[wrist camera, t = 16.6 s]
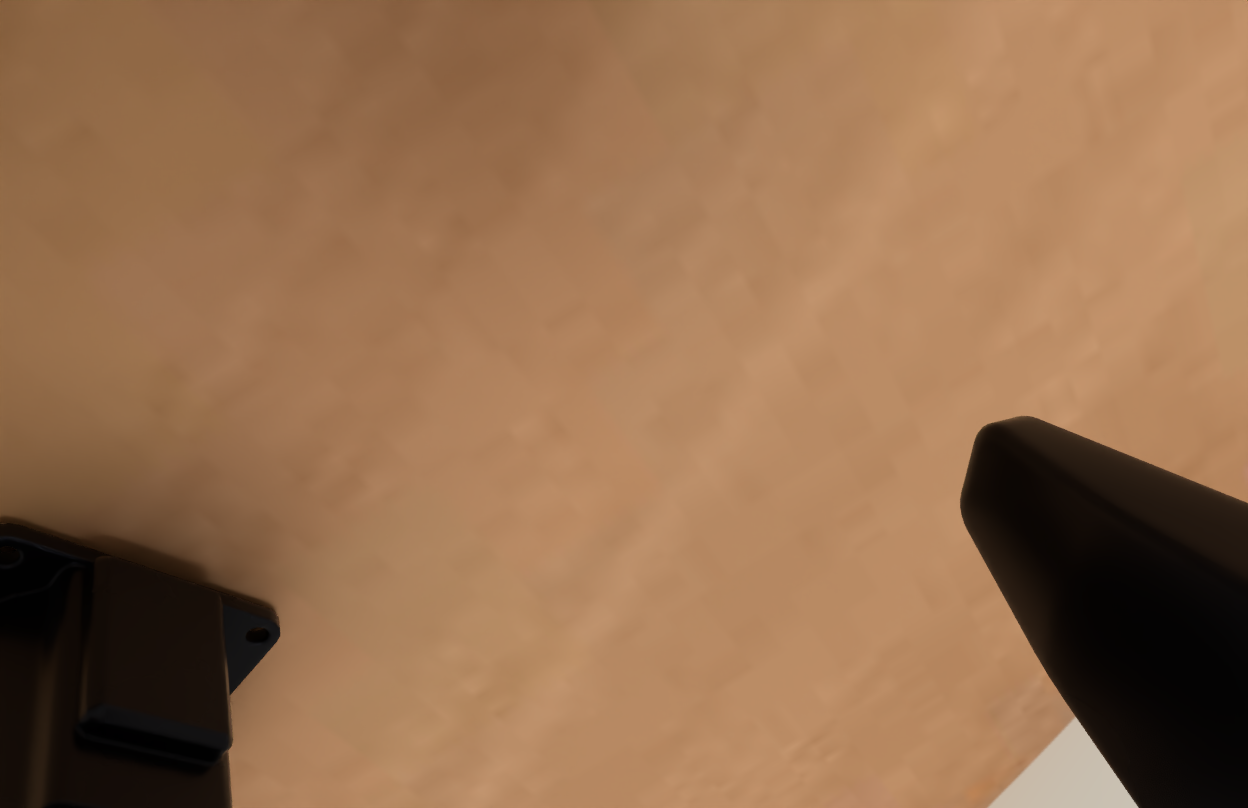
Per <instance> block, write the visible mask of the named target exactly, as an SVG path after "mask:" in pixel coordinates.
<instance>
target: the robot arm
mask: <svg viewBox="0 0 1248 808" xmlns="http://www.w3.org/2000/svg"><path fill="white" fill-rule="evenodd" d="M960 508H961V514H962V518H963V521H964V524H965V526H966V528H967V530H968V532H969V534H970V536H971V537H972V539H973V541H974V543H975V545H976V547H977V548H978V550H979V552H980V554H981V556H982V557H983V559H984V561H985V563H986V565H987V567H988V568H989V570H990V572H991V574H992V576H993V577H994V579H995V581H996V583H997V585H998V587H999V588H1000V590H1001V592H1002V594H1003V596H1004V597H1005V599H1006V601H1007V603H1008V605H1009V607H1010V608H1011V610H1012V612H1013V614H1014V616H1015V618H1016V619H1017V621H1018V623H1019V625H1020V627H1021V628H1022V630H1023V632H1024V634H1025V636H1026V638H1027V639H1028V641H1029V643H1030V645H1031V647H1032V648H1033V650H1034V652H1035V654H1036V655H1037V657H1038V659H1039V660H1040V662H1041V664H1042V666H1043V667H1044V669H1045V671H1046V672H1047V674H1048V676H1049V677H1050V679H1051V680H1052V682H1053V683H1054V685H1055V686H1056V688H1057V689H1058V691H1059V693H1060V694H1061V696H1062V697H1063V699H1064V700H1065V702H1066V703H1067V705H1068V706H1069V707H1070V709H1071V710H1072V712H1073V713H1074V715H1075V716H1076V718H1077V719H1078V720H1079V722H1080V723H1081V725H1082V726H1083V728H1084V729H1085V731H1086V732H1087V734H1088V735H1089V736H1090V738H1091V739H1092V741H1093V742H1094V743H1095V745H1096V746H1097V748H1098V749H1099V751H1100V752H1101V754H1102V755H1103V757H1104V758H1105V760H1106V761H1107V762H1108V764H1109V765H1110V767H1111V768H1112V770H1113V771H1114V773H1115V774H1116V775H1117V777H1118V778H1119V780H1120V781H1121V783H1122V784H1123V785H1124V787H1125V789H1126V790H1127V791H1128V793H1129V794H1130V796H1131V797H1132V799H1133V800H1134V802H1135V803H1136V804H1137V806H1138V807H1139V808H1248V503H1246V502H1244V501H1241V500H1239V499H1236V498H1234V497H1231V496H1229V495H1226V494H1224V493H1221V492H1219V491H1216V490H1214V489H1211V488H1209V487H1206V486H1204V485H1201V484H1199V483H1196V482H1194V481H1191V480H1189V479H1186V478H1184V477H1181V476H1179V475H1176V474H1174V473H1171V472H1169V471H1167V470H1164V469H1162V468H1159V467H1157V466H1154V465H1152V464H1149V463H1147V462H1144V461H1142V460H1139V459H1137V458H1134V457H1132V456H1129V455H1127V454H1124V453H1122V452H1119V451H1117V450H1114V449H1112V448H1109V447H1107V446H1104V445H1102V444H1099V443H1097V442H1094V441H1092V440H1090V439H1087V438H1085V437H1082V436H1080V435H1077V434H1075V433H1072V432H1070V431H1067V430H1065V429H1062V428H1060V427H1057V426H1055V425H1052V424H1050V423H1047V422H1045V421H1042V420H1040V419H1037V418H1034V417H1030V416H1019V417H1015V418H1011V419H1007V420H1002V421H998V422H994V423H990V424H987V425H986V426H984V427H983V428H982V429H981V430H980V431H979V432H978V434H977V436H976V438H975V441H974V445H973V449H972V453H971V457H970V461H969V465H968V469H967V473H966V477H965V481H964V484H963V488H962V492H961V498H960ZM4 546H6V547H13V548H14V549H16V551H14V552H9V553H7V552H0V808H232V796H231V782H230V768H229V753H228V750H229V749H230V747H231V746H232V743H233V732H232V719H231V706H230V695H231V694H232V693H233V691H234V690H235V689H236V688H237V687H238V686H239V684H240V683H241V682H242V681H243V680H244V679H245V678H246V676H247V675H248V674H249V673H250V672H251V671H252V670H253V668H254V667H255V666H256V665H257V664H258V663H259V662H260V660H261V659H262V658H263V657H264V656H265V655H266V653H267V652H268V651H269V650H270V649H271V648H272V647H273V645H274V644H275V643H276V642H277V640H278V639H279V637H280V625H279V618H278V616H277V614H276V613H275V611H273V610H271V609H269V608H267V607H264V606H261V605H258V604H255V603H252V602H249V601H246V600H243V599H240V598H237V597H234V596H231V595H228V594H225V593H222V592H219V591H216V590H213V589H210V588H207V587H204V586H201V585H198V584H195V583H192V582H189V581H186V580H183V579H180V578H177V577H174V576H171V575H168V574H165V573H162V572H159V571H156V570H153V569H150V568H147V567H144V566H141V565H138V564H135V563H132V562H129V561H126V560H123V559H120V558H117V557H114V556H111V555H108V554H105V553H102V552H99V551H96V550H93V549H90V548H87V547H84V546H81V545H78V544H75V543H72V542H69V541H66V540H63V539H60V538H57V537H54V536H51V535H48V534H45V533H42V532H39V531H36V530H33V529H30V528H27V527H24V526H21V525H16V524H11V523H6V524H0V547H4ZM257 627H260V628H263V629H261V630H257V631H251V629H253V628H257Z"/></svg>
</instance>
